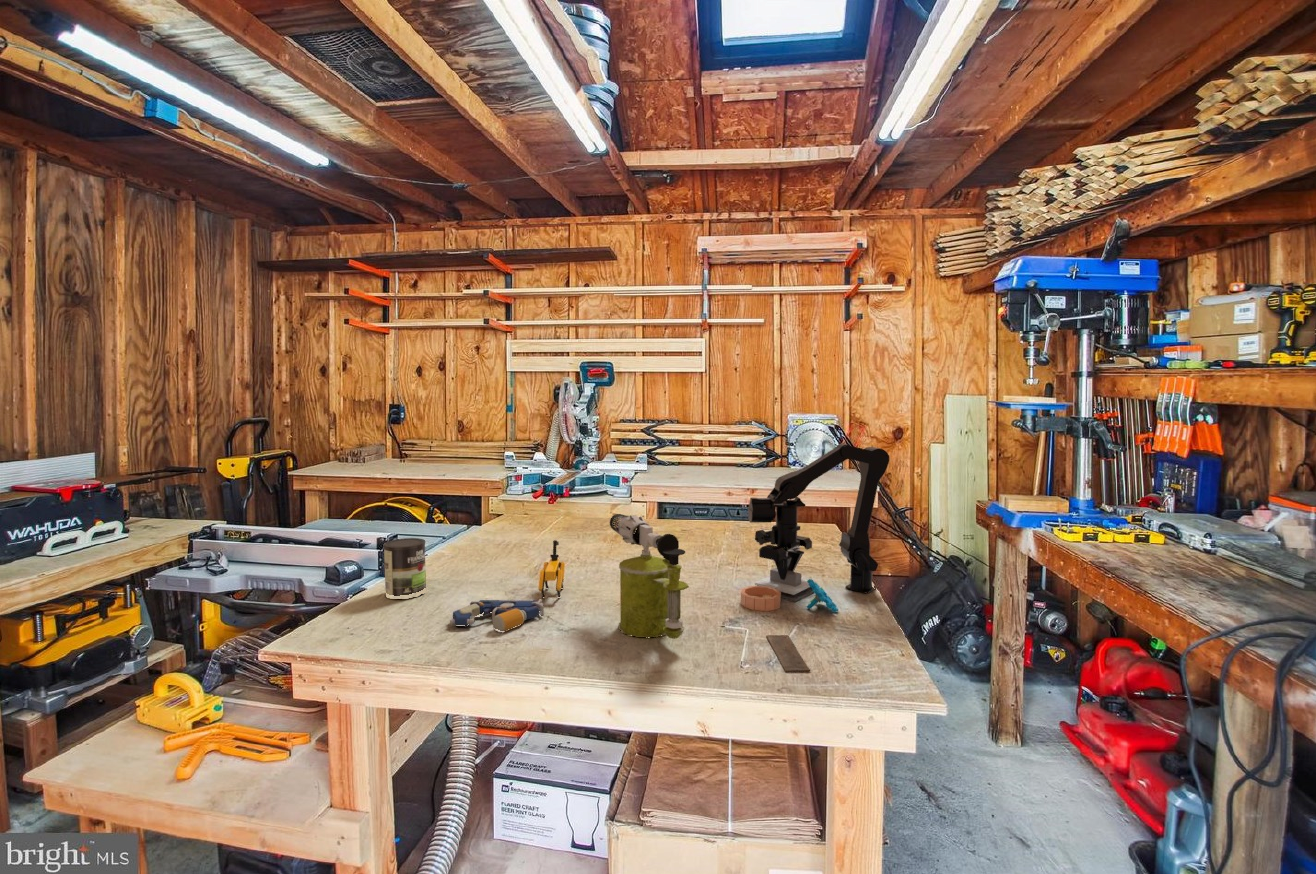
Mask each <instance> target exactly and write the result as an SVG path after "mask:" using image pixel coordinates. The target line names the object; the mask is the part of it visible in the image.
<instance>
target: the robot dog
mask: <svg viewBox="0 0 1316 874" xmlns="http://www.w3.org/2000/svg"><path fill="white" fill-rule="evenodd" d="M552 543H553V544H552V554H550V556H549V557H550V559H549V561H548V562H547V561H545V562H544V563H543V569H541V570H540V572H539V580H538V590H539V592H541V597H542V598H543V597H545V598H546V595H545V589H546V588H548V589H549V585H548V581H550V582H552V581H556V585H555V590H556V592H557V598H558V597H560V596H561V591H562V590H561V588H563V589H564V581H565V571H566V563H565V561H561V559H560V558H559V554H557V546H559V545H560V544H559V541H558V540H556V539H555V540H553V541H552ZM544 588H545V589H544Z"/></svg>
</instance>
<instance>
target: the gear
mask: <svg viewBox="0 0 1316 874" xmlns="http://www.w3.org/2000/svg"><path fill="white" fill-rule="evenodd" d="M807 580H808V581H807V582H808V583H809V584H808V585H809V586H810V587H811V588H812V589H813V592H814V593H813V594H815V596H814V597H813V598H812V599H811V600H810V601H809V604H808V605H806V609H808V610H811V609H812V608H814V606H815V605H817V604H818V603H821V602H822V603H824V604H825V606H826V607H827V608H828V609H829V610H830V611H832V612H833V614H834V613H837V611H839V609H838V608H837V605H836V604H835V602H833V599H832V598H831V596H829V595H828V593H827V592H826V591H825V589H824V588H823V587H820V585H819V584H818V583H817V582H816V581H815V580H814V579H812V578H809V579H807ZM815 582H816V583H815ZM819 587H820V588H819Z"/></svg>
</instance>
